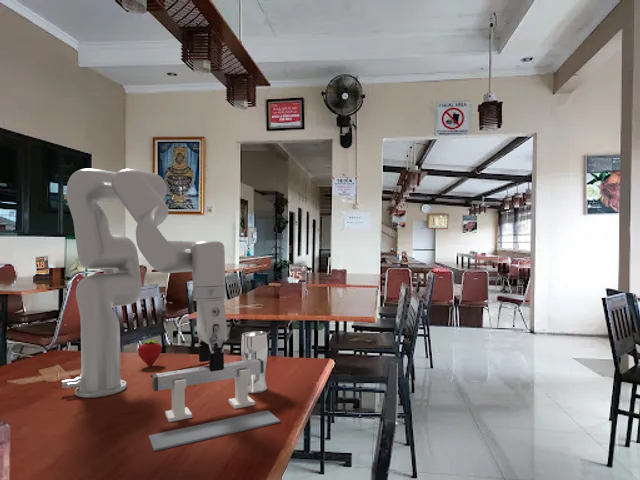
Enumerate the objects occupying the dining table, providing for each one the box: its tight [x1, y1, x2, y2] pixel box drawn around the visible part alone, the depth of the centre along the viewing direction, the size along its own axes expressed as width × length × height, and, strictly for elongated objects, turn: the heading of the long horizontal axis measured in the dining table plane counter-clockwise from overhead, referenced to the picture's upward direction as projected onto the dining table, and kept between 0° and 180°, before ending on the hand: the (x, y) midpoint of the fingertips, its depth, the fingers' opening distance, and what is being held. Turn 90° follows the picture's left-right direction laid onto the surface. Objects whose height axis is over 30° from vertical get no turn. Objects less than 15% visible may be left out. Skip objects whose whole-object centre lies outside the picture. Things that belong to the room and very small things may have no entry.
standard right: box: [228, 369, 256, 410], centre depth 108 cm, size 5×6×9 cm
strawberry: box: [137, 335, 163, 367], centre depth 144 cm, size 6×8×10 cm
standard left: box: [164, 379, 193, 423], centre depth 101 cm, size 5×6×9 cm
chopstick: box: [150, 361, 209, 378], centre depth 140 cm, size 2×24×1 cm, turn 139°
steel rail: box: [151, 358, 264, 392], centre depth 104 cm, size 26×3×3 cm, turn 119°
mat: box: [148, 410, 281, 452], centre depth 93 cm, size 26×7×1 cm, turn 119°
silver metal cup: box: [240, 330, 269, 394], centre depth 118 cm, size 7×7×15 cm
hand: (211, 365), depth 104 cm, fingers open, 9 cm apart
